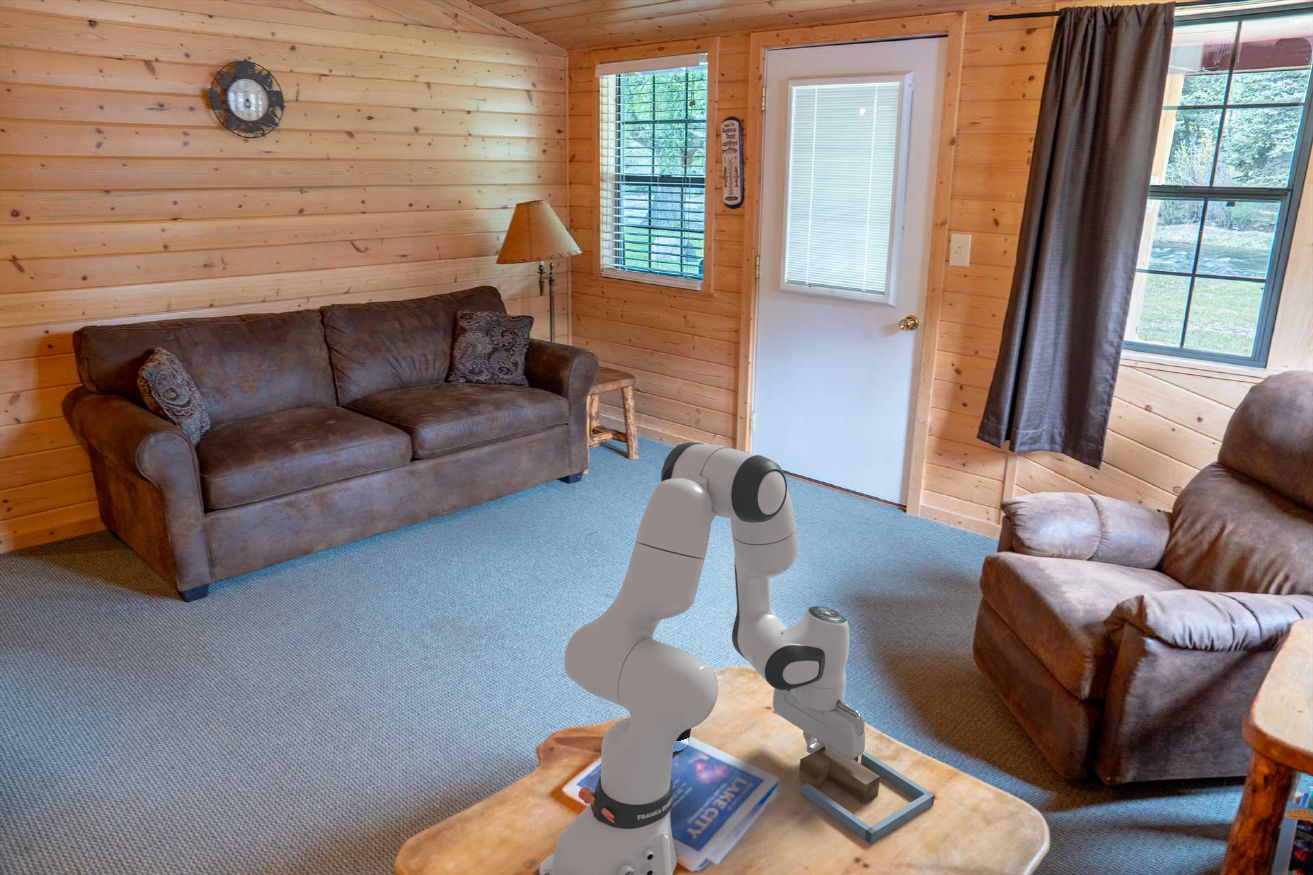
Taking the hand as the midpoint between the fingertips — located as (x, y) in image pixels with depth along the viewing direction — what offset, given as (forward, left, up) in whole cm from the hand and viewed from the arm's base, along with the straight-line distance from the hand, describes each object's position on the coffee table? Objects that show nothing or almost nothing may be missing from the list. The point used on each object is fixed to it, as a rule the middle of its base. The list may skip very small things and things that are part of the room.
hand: (814, 754), depth 176 cm
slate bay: (0, -12, -2) cm, 12 cm away
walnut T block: (0, -8, -2) cm, 8 cm away
